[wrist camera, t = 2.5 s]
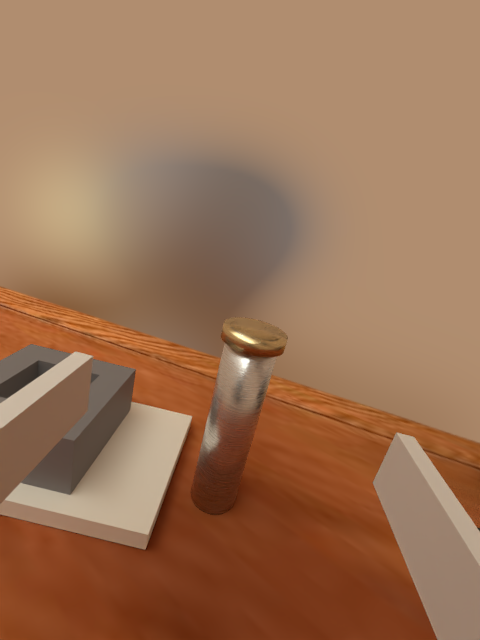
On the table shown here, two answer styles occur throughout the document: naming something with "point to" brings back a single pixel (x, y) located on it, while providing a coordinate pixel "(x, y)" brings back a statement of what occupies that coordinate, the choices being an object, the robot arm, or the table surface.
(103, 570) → the table surface
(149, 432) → the board
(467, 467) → the table surface
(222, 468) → the steel pin
